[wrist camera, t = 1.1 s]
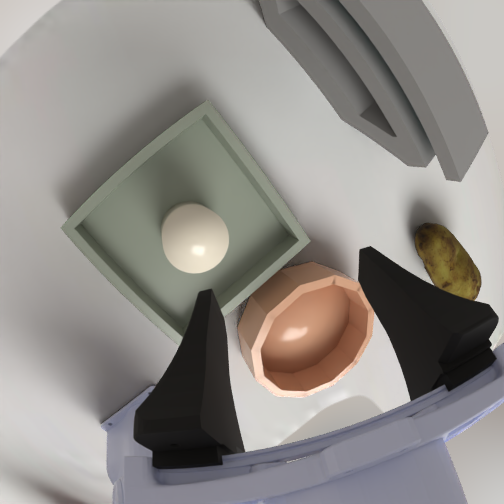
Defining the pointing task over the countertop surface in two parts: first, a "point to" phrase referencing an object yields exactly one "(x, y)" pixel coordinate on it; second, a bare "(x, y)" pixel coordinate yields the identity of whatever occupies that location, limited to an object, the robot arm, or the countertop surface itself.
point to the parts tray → (179, 190)
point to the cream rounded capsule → (193, 237)
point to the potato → (447, 261)
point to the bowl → (305, 329)
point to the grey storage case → (386, 75)
